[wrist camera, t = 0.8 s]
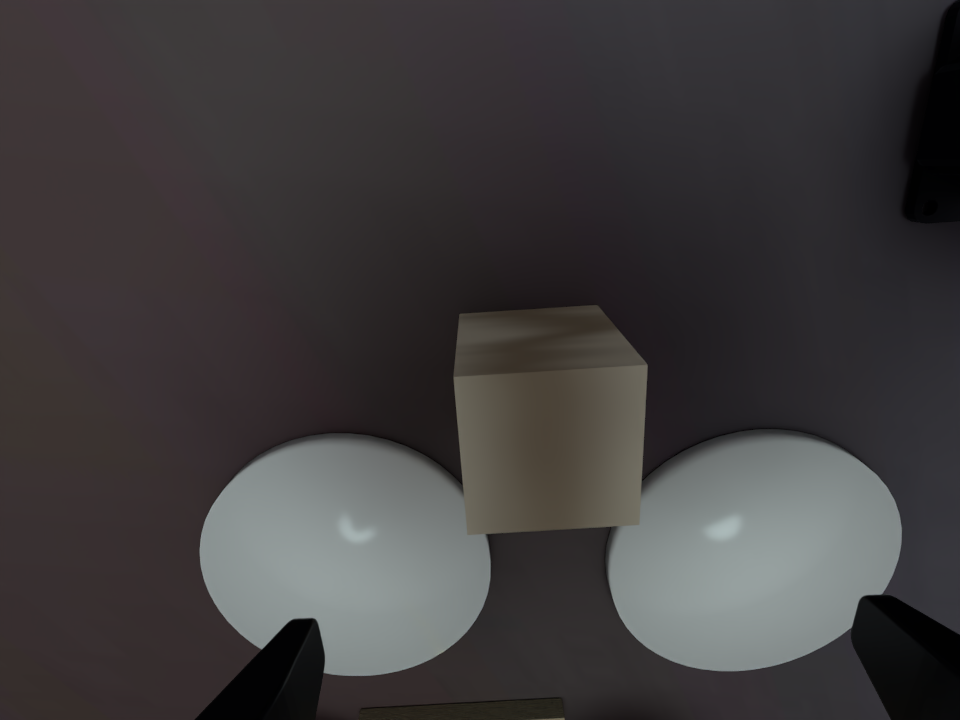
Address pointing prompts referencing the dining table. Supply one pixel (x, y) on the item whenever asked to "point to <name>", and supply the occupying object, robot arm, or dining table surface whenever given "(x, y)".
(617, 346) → the block
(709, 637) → the shallow white plate
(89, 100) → the dining table surface
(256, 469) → the pale round disc
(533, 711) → the balance
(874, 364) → the dining table surface
